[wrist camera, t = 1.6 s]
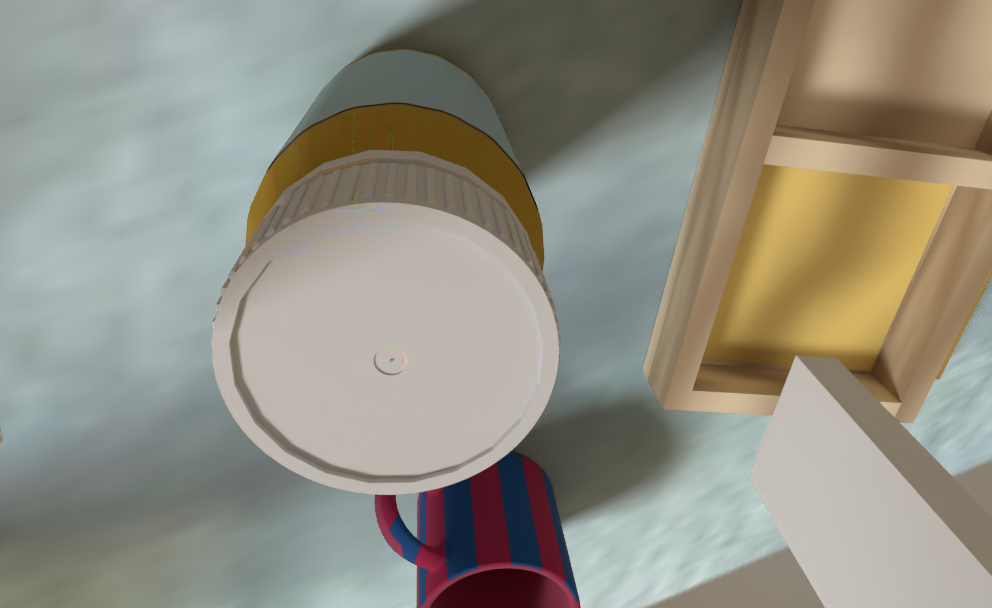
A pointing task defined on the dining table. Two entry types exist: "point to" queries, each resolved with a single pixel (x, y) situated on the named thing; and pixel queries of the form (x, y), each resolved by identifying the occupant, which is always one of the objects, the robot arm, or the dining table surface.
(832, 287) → the caddy
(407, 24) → the dining table surface
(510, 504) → the mug
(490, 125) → the bottle
